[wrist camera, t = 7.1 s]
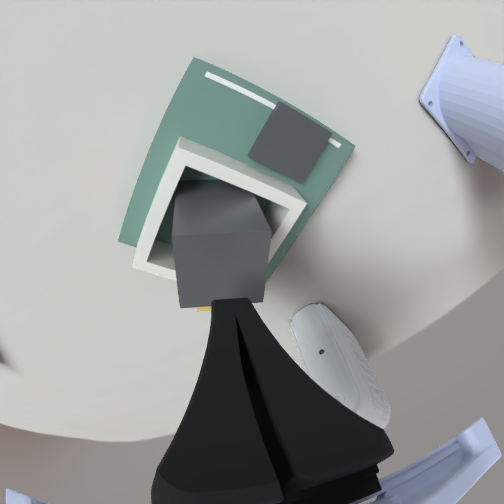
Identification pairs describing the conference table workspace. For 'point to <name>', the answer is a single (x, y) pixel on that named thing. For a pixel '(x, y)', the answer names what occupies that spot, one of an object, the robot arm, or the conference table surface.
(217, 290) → the plug
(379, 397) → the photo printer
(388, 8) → the conference table surface
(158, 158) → the board
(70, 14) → the conference table surface
